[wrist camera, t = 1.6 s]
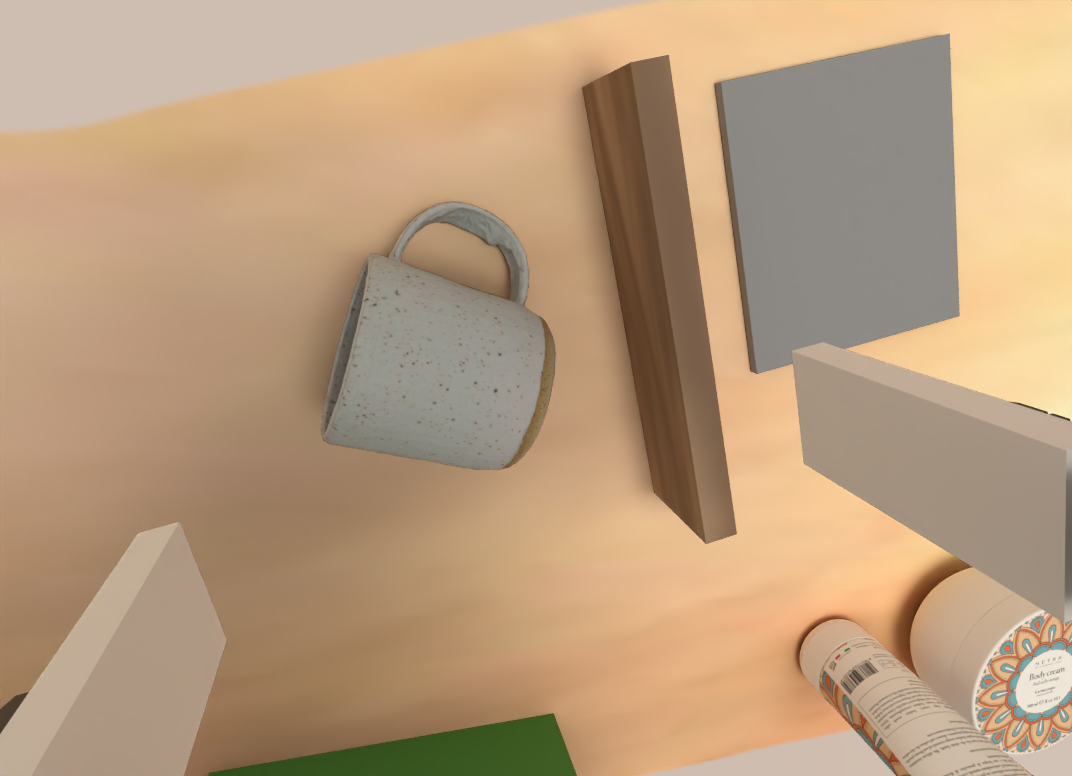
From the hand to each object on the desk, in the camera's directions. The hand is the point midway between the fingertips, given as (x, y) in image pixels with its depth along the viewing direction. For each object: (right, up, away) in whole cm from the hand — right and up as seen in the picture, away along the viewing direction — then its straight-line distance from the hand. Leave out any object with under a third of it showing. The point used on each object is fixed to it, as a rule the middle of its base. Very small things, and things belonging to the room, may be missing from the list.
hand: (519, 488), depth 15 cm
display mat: (+16, +11, +21) cm, 28 cm away
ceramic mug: (-4, +5, +18) cm, 19 cm away
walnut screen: (+5, +6, +20) cm, 21 cm away
